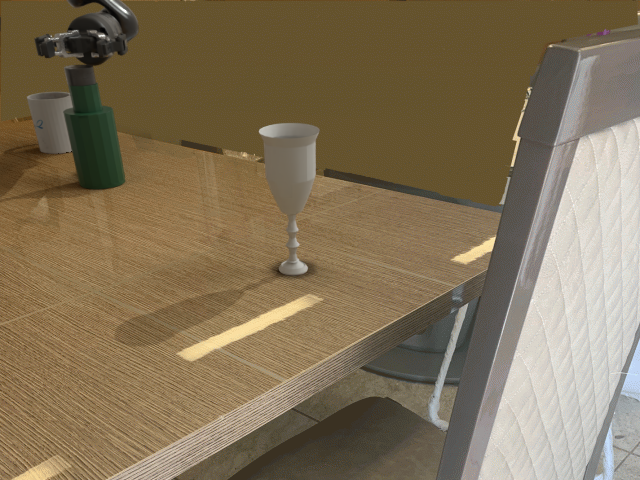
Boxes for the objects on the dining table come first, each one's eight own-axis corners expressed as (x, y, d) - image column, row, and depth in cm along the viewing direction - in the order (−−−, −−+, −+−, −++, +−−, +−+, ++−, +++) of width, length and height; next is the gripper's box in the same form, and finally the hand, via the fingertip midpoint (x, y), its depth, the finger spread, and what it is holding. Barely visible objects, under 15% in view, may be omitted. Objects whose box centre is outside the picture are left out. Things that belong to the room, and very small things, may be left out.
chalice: (275, 267, 86) (268, 121, 75) (325, 271, 85) (325, 124, 74) (260, 291, 80) (250, 136, 69) (313, 295, 79) (312, 140, 68)
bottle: (75, 189, 113) (52, 88, 103) (85, 176, 119) (64, 80, 109) (121, 188, 113) (102, 87, 104) (128, 175, 120) (111, 79, 110)
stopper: (72, 122, 108) (60, 69, 103) (78, 116, 112) (67, 64, 107) (100, 122, 108) (89, 68, 103) (105, 116, 112) (95, 64, 107)
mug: (83, 151, 133) (72, 98, 127) (39, 155, 131) (26, 101, 125) (81, 137, 143) (70, 87, 137) (40, 141, 140) (27, 90, 134)
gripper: (48, 14, 112) (20, 23, 99) (130, 13, 113) (113, 22, 100) (59, 62, 117) (33, 77, 104) (138, 62, 117) (122, 76, 105)
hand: (72, 50), depth 102 cm, fingers open, 8 cm apart
